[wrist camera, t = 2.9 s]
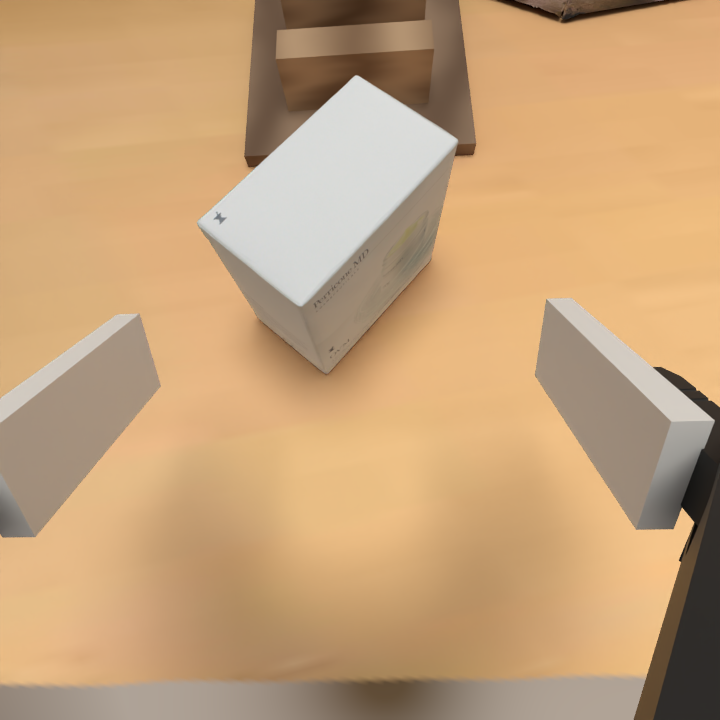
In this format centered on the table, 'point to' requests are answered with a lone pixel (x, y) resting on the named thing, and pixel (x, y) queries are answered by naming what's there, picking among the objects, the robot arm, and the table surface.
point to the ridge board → (287, 123)
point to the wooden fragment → (580, 5)
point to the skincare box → (336, 220)
